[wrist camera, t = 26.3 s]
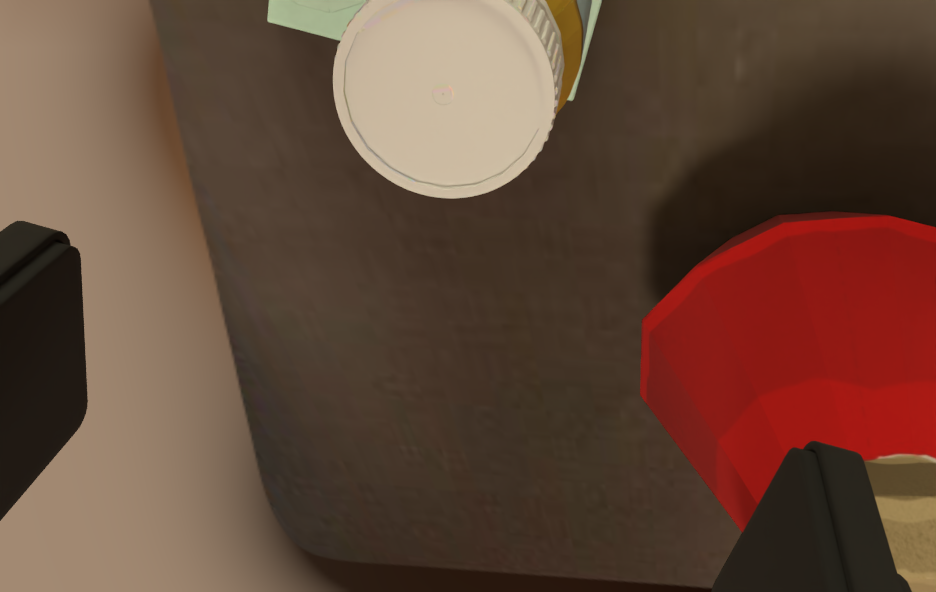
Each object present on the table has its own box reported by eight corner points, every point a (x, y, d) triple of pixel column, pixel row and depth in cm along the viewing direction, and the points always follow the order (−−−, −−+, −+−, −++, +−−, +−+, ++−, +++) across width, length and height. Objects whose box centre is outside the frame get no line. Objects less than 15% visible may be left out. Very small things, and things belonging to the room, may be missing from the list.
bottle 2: (954, 108, 37) (1218, 402, 20) (993, 358, 43) (1222, 746, 26) (598, 212, 42) (574, 515, 26) (675, 423, 48) (697, 782, 31)
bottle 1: (621, -83, 34) (613, 13, 22) (560, 82, 38) (523, 245, 25) (452, -143, 34) (345, -82, 22) (408, 29, 38) (295, 166, 25)
